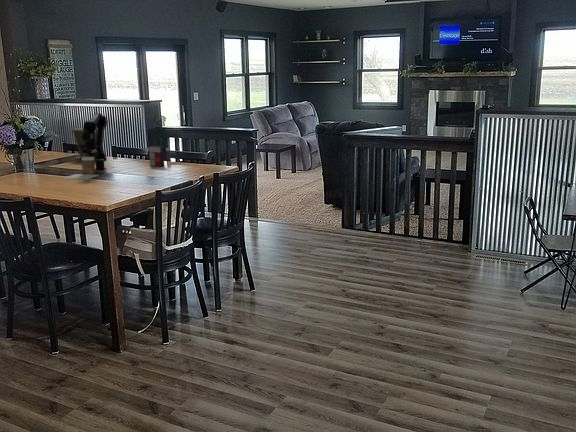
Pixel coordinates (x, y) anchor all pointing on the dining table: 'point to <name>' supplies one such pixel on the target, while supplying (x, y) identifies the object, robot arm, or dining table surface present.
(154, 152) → the red and grey box
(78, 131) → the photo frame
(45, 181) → the dining table surface
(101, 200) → the dining table surface
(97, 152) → the robot arm
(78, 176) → the mat
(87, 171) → the walnut block
